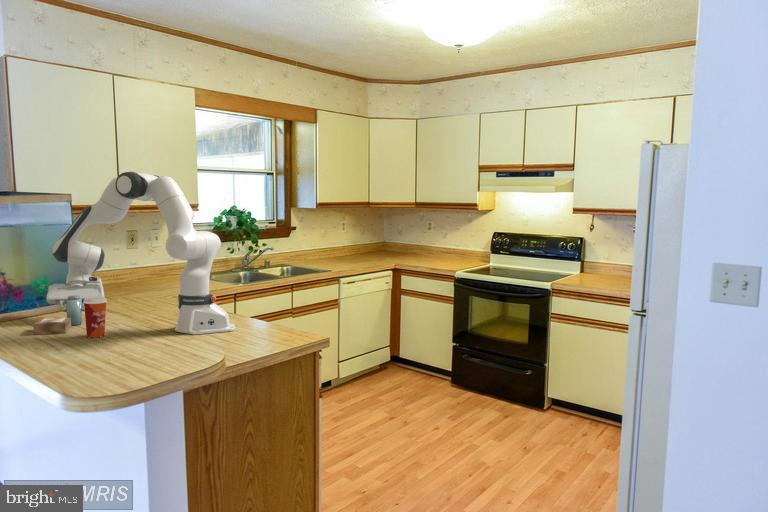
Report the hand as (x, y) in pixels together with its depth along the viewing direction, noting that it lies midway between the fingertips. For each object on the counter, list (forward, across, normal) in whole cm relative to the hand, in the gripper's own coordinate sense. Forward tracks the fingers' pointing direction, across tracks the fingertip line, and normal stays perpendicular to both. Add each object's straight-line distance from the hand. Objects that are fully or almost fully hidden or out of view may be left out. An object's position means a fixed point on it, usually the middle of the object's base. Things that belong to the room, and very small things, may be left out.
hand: (73, 310), depth 205 cm
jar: (+3, 0, +4) cm, 5 cm away
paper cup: (+20, +11, -12) cm, 26 cm away
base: (+11, -5, -3) cm, 13 cm away
